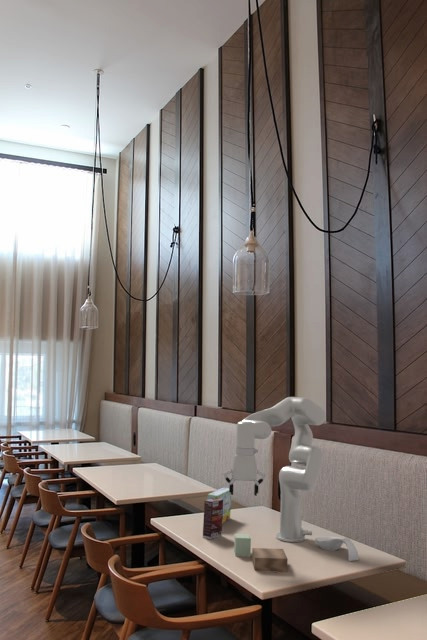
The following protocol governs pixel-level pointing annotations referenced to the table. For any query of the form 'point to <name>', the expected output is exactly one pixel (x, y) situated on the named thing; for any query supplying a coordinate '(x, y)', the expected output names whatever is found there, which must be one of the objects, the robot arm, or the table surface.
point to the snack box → (226, 497)
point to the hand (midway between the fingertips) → (243, 494)
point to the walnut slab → (269, 560)
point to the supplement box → (213, 518)
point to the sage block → (242, 545)
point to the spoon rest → (338, 545)
